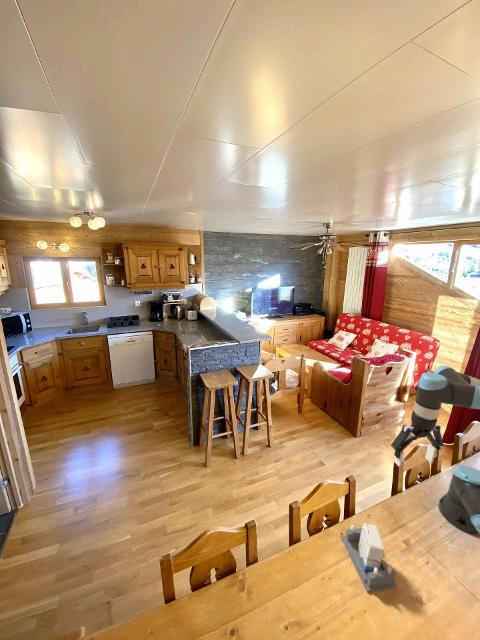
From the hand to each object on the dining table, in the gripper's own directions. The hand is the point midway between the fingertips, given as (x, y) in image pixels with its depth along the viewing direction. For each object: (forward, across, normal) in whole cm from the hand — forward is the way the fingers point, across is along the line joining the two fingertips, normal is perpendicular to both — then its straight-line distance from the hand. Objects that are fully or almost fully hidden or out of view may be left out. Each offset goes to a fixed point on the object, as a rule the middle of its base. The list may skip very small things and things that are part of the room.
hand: (413, 462), depth 101 cm
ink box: (+31, +21, +11) cm, 39 cm away
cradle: (+31, +21, +10) cm, 39 cm away
